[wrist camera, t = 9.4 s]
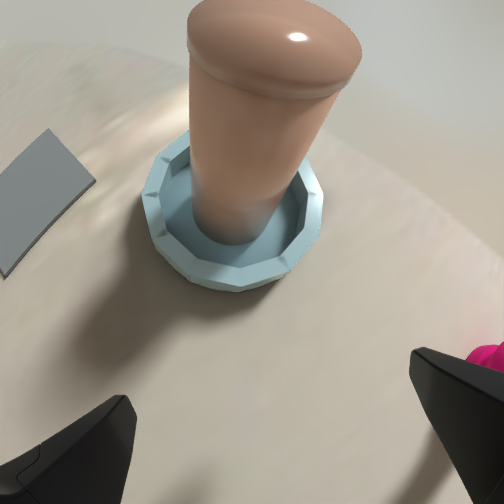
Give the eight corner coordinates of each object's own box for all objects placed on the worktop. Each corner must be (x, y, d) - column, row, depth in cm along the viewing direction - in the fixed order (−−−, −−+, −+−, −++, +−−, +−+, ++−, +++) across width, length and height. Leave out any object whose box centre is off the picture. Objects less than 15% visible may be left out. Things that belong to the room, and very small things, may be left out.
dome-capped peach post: (204, 257, 19) (214, 89, 6) (181, 183, 20) (173, -4, 7) (283, 234, 21) (393, 79, 7) (256, 165, 22) (313, -7, 9)
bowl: (238, 327, 19) (243, 324, 17) (119, 214, 20) (108, 197, 17) (335, 211, 23) (351, 195, 20) (226, 123, 23) (229, 100, 21)
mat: (7, 276, 17) (4, 275, 17) (-28, 211, 18) (-30, 209, 18) (96, 181, 20) (94, 178, 20) (49, 130, 21) (48, 128, 21)
